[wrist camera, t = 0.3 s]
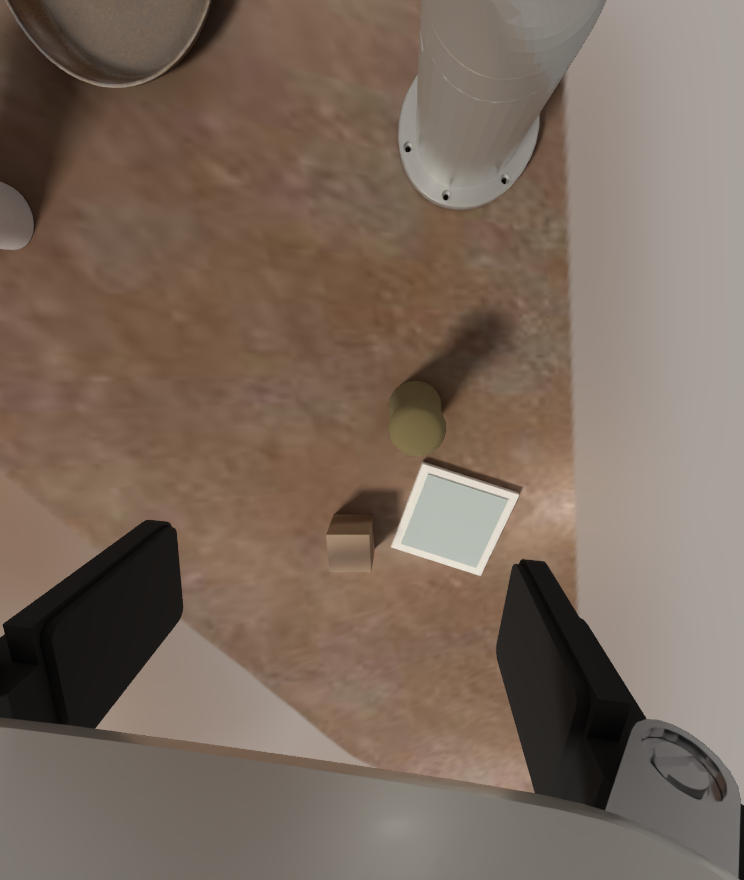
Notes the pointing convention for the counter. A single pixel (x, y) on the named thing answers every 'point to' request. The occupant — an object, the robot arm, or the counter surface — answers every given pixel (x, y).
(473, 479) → the plate
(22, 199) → the coffee cup
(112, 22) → the plant saucer
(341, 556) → the walnut block
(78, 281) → the counter surface
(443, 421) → the olive rounded tall piece
